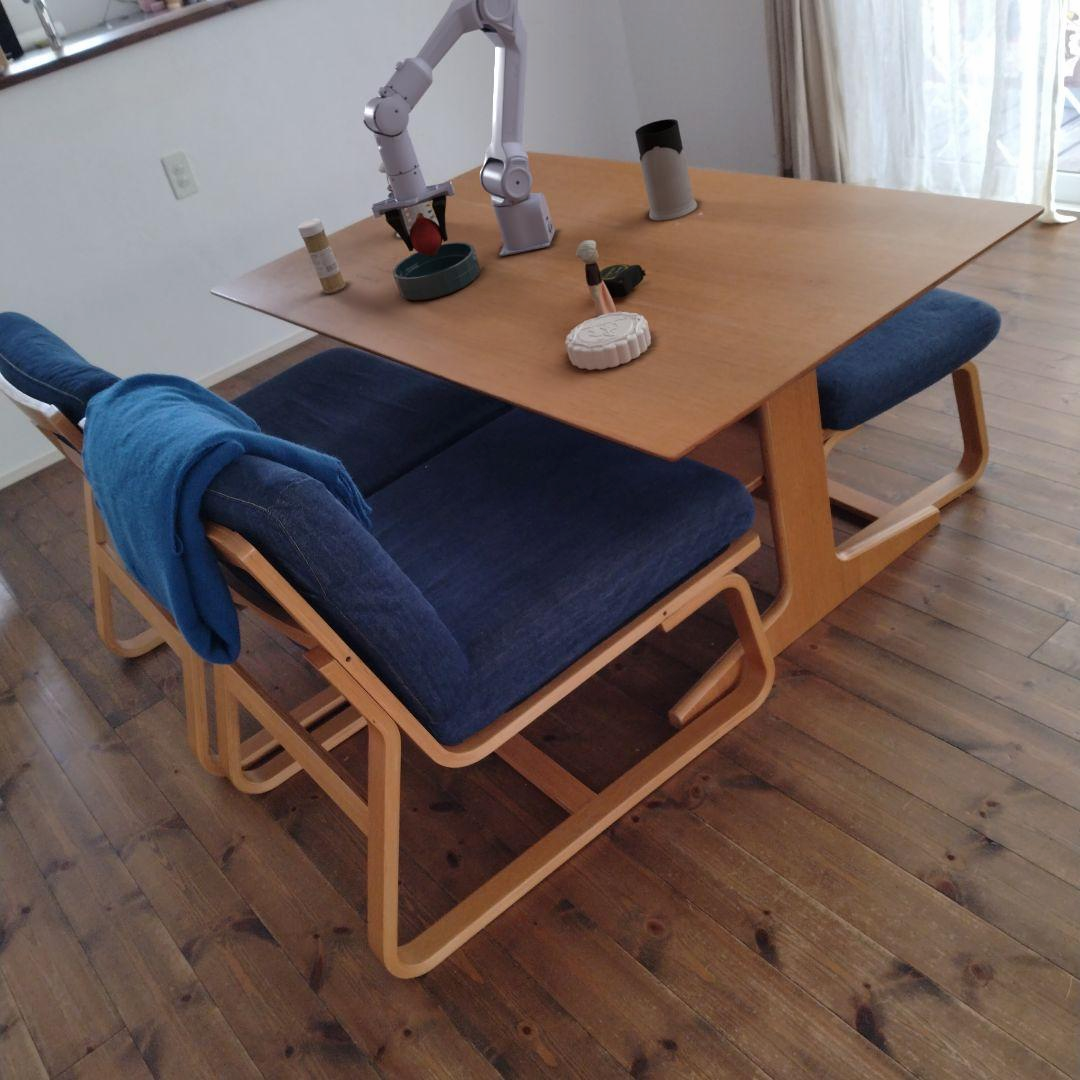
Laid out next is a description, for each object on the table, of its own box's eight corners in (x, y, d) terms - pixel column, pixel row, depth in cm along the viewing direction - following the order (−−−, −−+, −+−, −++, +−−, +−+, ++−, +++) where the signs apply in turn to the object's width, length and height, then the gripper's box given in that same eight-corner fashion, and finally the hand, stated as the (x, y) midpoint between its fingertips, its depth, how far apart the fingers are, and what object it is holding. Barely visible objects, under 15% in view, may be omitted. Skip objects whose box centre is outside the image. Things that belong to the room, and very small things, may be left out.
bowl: (488, 258, 204) (481, 235, 201) (471, 292, 192) (463, 268, 189) (412, 274, 208) (404, 251, 206) (391, 308, 196) (383, 285, 193)
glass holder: (646, 223, 197) (628, 140, 189) (656, 195, 208) (639, 115, 200) (694, 214, 194) (678, 129, 186) (702, 186, 205) (687, 105, 197)
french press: (407, 241, 225) (365, 118, 212) (385, 232, 235) (344, 113, 221) (448, 222, 228) (409, 100, 215) (425, 214, 237) (387, 96, 224)
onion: (443, 260, 194) (428, 216, 190) (413, 266, 196) (398, 223, 191) (451, 247, 198) (437, 204, 194) (422, 253, 200) (408, 210, 196)
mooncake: (573, 378, 154) (566, 356, 152) (567, 344, 164) (561, 322, 162) (656, 356, 153) (651, 333, 151) (646, 323, 163) (640, 300, 161)
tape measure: (627, 303, 170) (622, 281, 168) (590, 303, 174) (584, 281, 172) (648, 283, 174) (643, 261, 172) (611, 283, 178) (606, 262, 176)
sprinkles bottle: (342, 281, 215) (316, 215, 208) (349, 287, 212) (323, 220, 204) (320, 291, 214) (294, 225, 207) (327, 296, 210) (300, 229, 203)
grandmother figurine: (624, 324, 164) (604, 243, 157) (599, 332, 164) (579, 252, 157) (610, 307, 171) (591, 229, 164) (587, 315, 171) (567, 237, 164)
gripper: (361, 188, 186) (388, 263, 193) (443, 163, 184) (467, 240, 192) (364, 176, 192) (390, 250, 199) (443, 152, 190) (467, 227, 198)
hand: (428, 244), depth 196 cm, fingers closed on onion, 6 cm apart
